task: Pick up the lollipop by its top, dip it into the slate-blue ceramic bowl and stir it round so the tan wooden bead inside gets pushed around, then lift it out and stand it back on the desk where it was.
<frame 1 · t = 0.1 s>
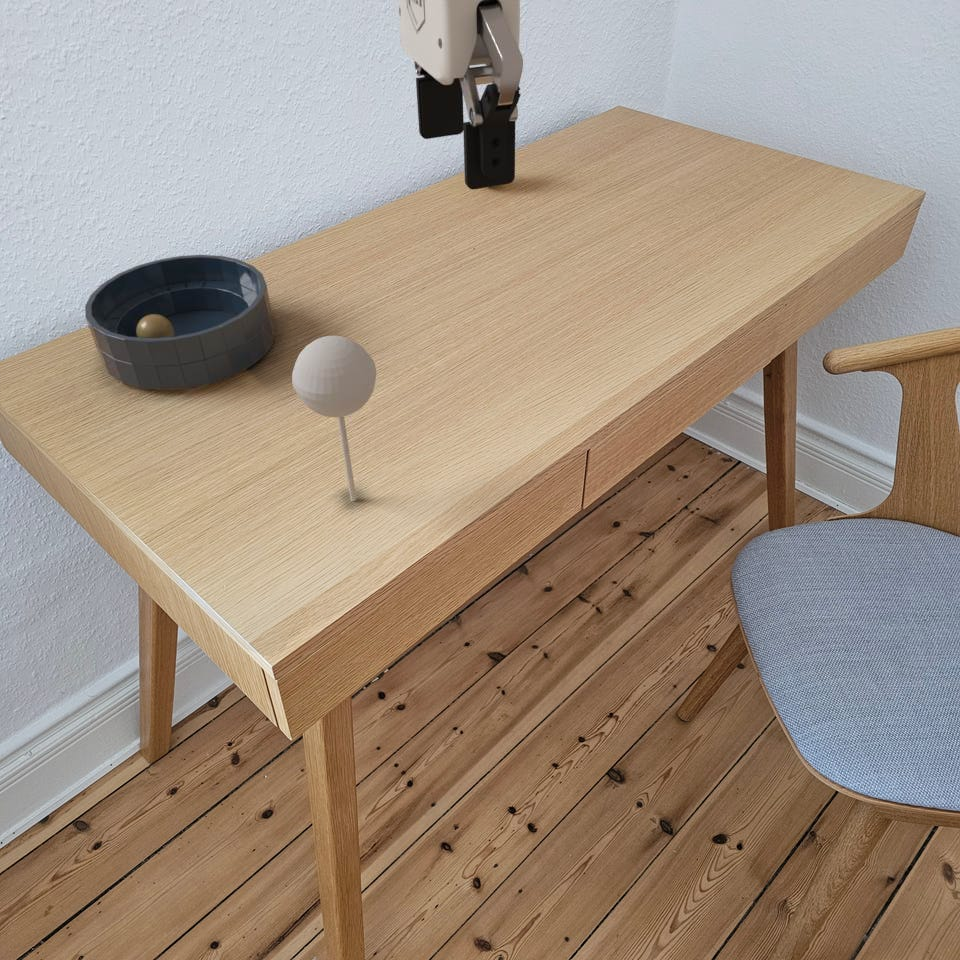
hand: (464, 158, 58), 25 cm above the table, tool pointing down, fingers open, 9 cm apart
fruit: (488, 188, 118), on the table
lollipop: (353, 501, 70), on the table
bead: (155, 332, 85), point 2 cm above the table, touching bowl
bowl: (191, 346, 88), on the table
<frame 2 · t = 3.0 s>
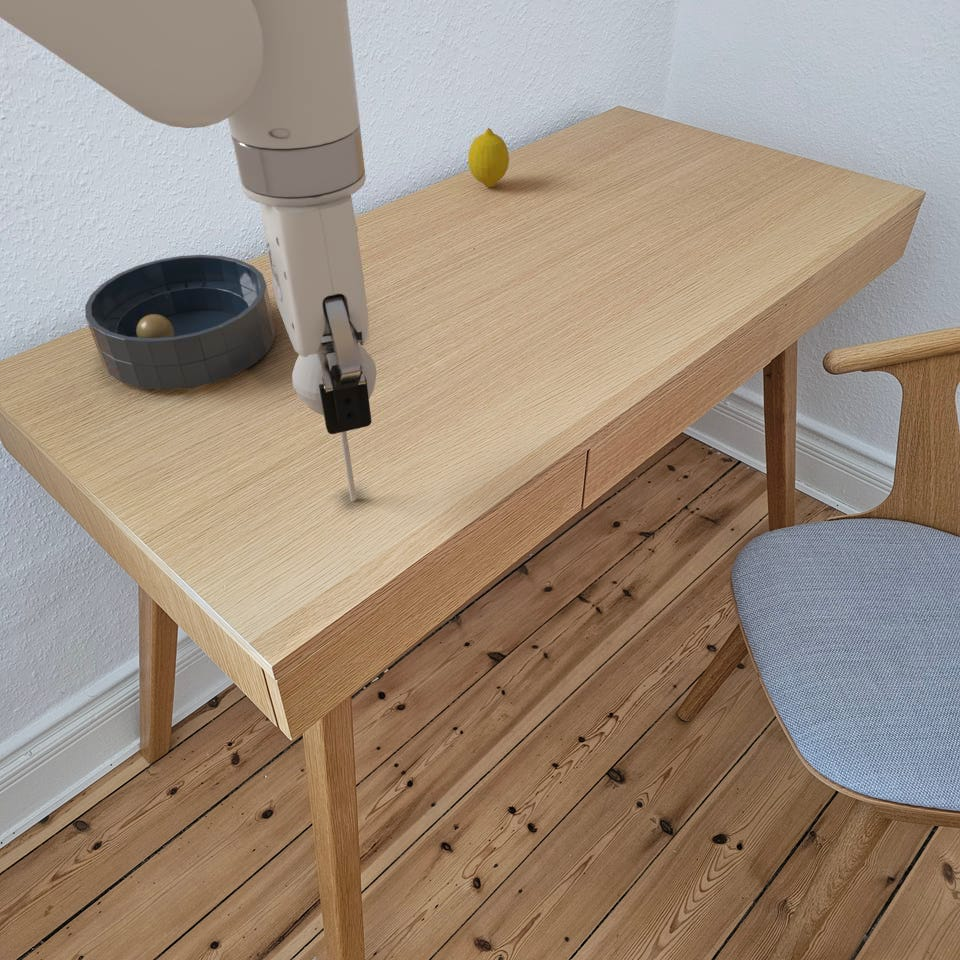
hand: (338, 400, 63), 10 cm above the table, tool pointing down, fingers closed on lollipop, 6 cm apart
lollipop: (353, 501, 70), on the table, touching gripper
everything else where it was.
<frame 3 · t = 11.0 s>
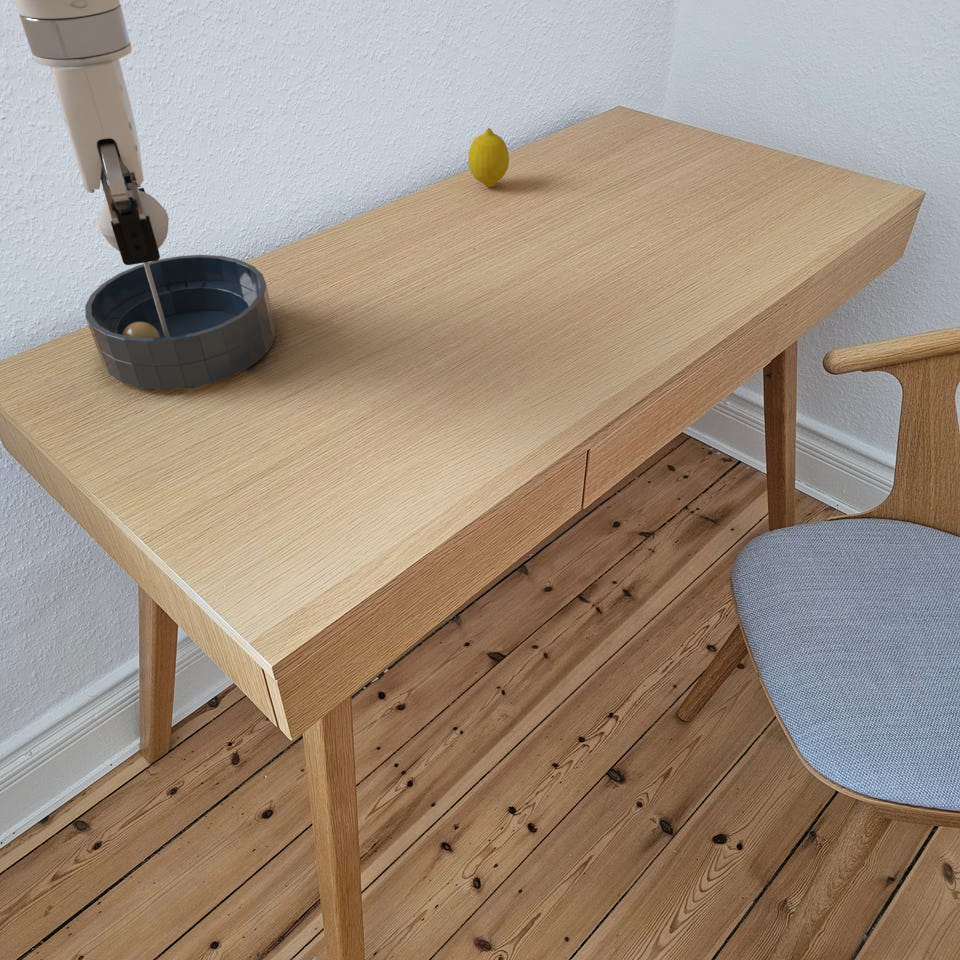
hand: (139, 244, 79), 12 cm above the table, tool pointing down, fingers closed on lollipop, 6 cm apart
lollipop: (167, 338, 86), point 1 cm above the table, touching gripper
bead: (141, 339, 84), point 2 cm above the table, tilted 55°, touching bowl
everything else where it was.
when the fingers open (10 cm above the table, at t = 20.1 s): lollipop stays where it is, on the table.
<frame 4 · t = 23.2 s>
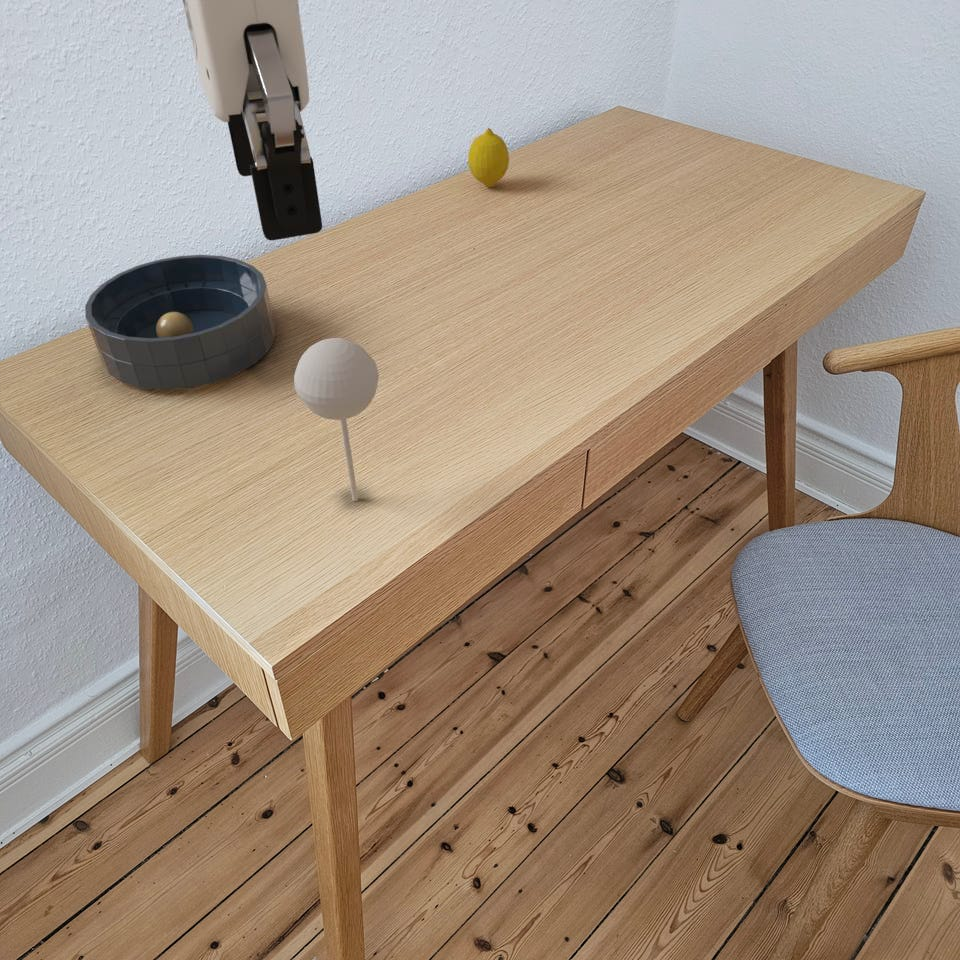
hand: (277, 201, 50), 26 cm above the table, tool pointing down, fingers open, 9 cm apart
lollipop: (355, 500, 70), on the table
bead: (175, 329, 85), point 2 cm above the table, tilted 56°, touching bowl
everything else where it was.
at the end: bead moved 2.0 cm from its start; bead inside the target area in the bowl (1.0 cm from its centre), point 2.4 cm above the bowl's base; lollipop tilted 5° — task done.
